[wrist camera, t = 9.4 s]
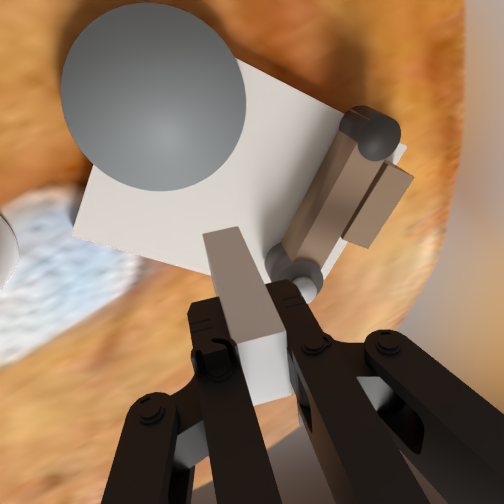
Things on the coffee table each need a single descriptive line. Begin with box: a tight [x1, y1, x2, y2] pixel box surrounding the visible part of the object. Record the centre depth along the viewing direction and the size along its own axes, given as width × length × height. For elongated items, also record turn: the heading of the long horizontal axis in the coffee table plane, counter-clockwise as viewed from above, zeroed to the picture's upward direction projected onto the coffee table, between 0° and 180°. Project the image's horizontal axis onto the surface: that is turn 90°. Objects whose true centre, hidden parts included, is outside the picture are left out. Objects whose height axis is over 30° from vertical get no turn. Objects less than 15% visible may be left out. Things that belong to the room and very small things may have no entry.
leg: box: [264, 105, 401, 295], centre depth 29 cm, size 14×4×3 cm, turn 155°
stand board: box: [61, 3, 414, 303], centre depth 27 cm, size 23×16×6 cm
